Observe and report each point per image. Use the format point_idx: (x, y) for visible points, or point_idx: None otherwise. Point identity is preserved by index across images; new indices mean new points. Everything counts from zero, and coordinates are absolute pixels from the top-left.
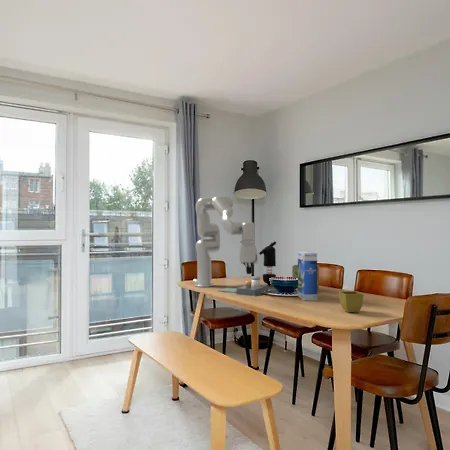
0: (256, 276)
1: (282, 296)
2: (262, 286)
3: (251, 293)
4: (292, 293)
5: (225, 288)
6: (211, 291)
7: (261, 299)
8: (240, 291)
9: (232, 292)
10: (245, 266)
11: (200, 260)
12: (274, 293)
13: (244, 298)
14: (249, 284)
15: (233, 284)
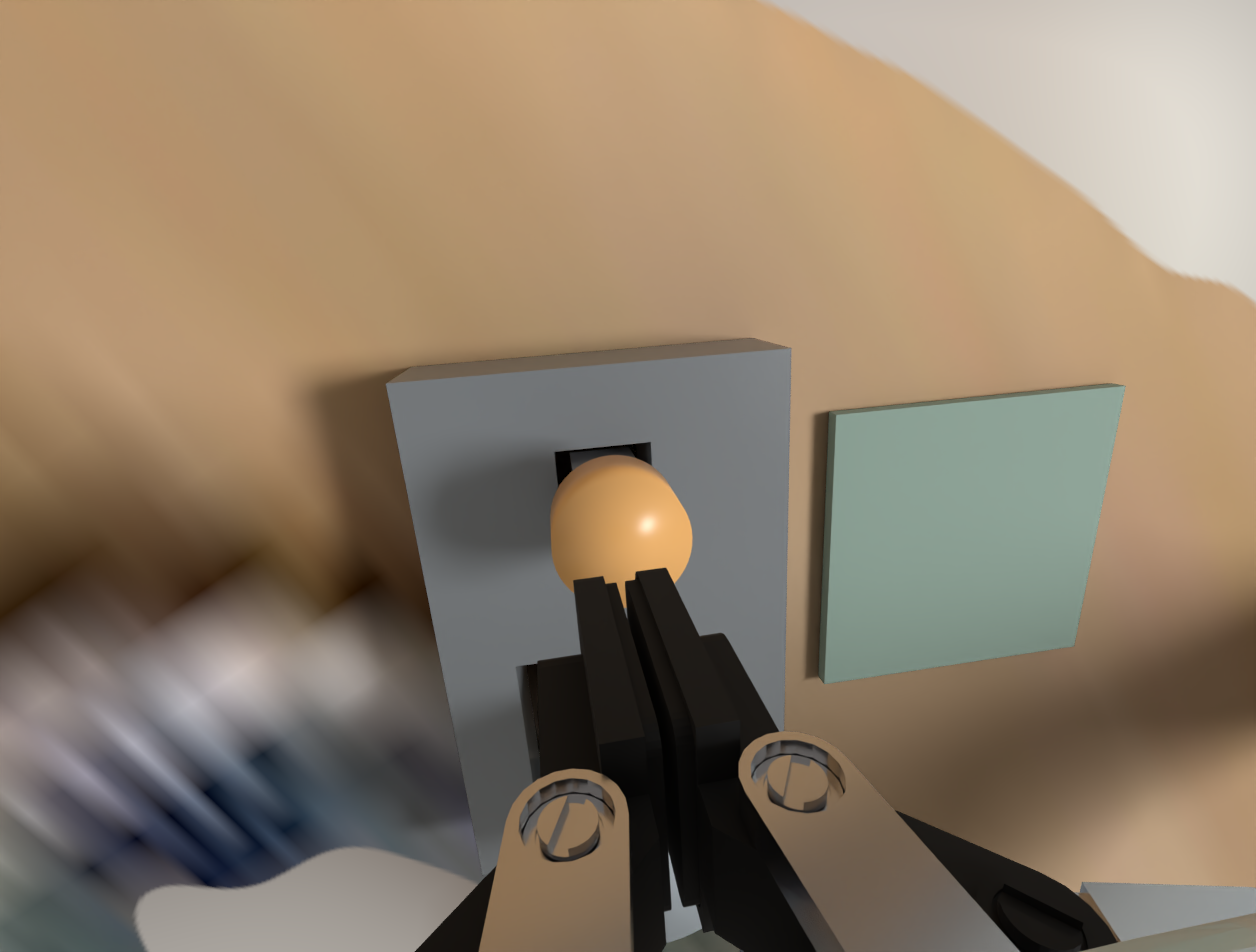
0: (683, 931)
1: (11, 590)
2: (500, 753)
3: (466, 367)
4: (91, 854)
5: (1080, 572)
6: (1196, 313)
7: (66, 126)
8: (690, 349)
9: (869, 408)
10: (830, 753)
11: None
12: (300, 714)
13: (398, 32)
14: (565, 485)
15: (1107, 879)
